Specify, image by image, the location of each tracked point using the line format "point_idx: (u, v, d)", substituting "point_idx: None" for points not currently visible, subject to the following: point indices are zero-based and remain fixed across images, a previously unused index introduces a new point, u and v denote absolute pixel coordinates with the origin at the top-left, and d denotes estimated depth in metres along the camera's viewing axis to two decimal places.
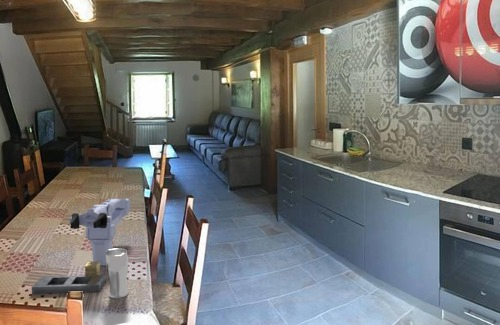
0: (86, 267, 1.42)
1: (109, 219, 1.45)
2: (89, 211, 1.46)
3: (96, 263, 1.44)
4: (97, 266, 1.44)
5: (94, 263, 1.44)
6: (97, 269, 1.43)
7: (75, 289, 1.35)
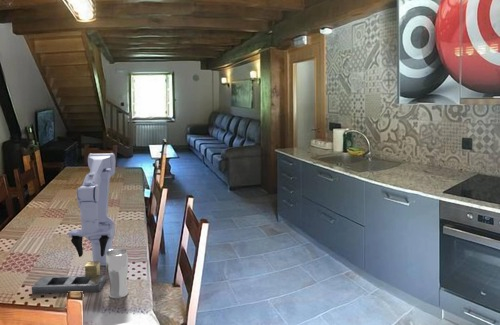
0: (86, 267, 1.42)
1: None
2: None
3: (96, 263, 1.44)
4: (97, 266, 1.44)
5: (94, 263, 1.44)
6: (97, 269, 1.43)
7: (75, 289, 1.35)
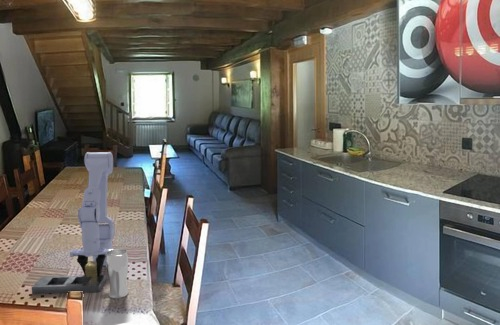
0: (86, 267, 1.42)
1: None
2: None
3: (96, 263, 1.44)
4: None
5: (94, 263, 1.44)
6: None
7: (75, 289, 1.35)
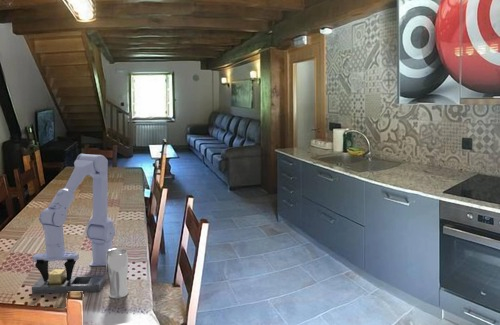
0: (50, 276, 1.35)
1: None
2: None
3: (61, 271, 1.37)
4: (62, 274, 1.37)
5: (59, 272, 1.37)
6: (61, 277, 1.36)
7: (75, 289, 1.35)
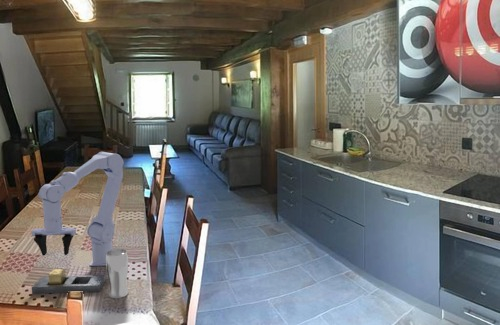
0: (50, 276, 1.35)
1: None
2: (48, 234, 1.39)
3: (61, 271, 1.37)
4: (62, 274, 1.37)
5: (59, 272, 1.37)
6: (61, 277, 1.36)
7: (75, 289, 1.35)
